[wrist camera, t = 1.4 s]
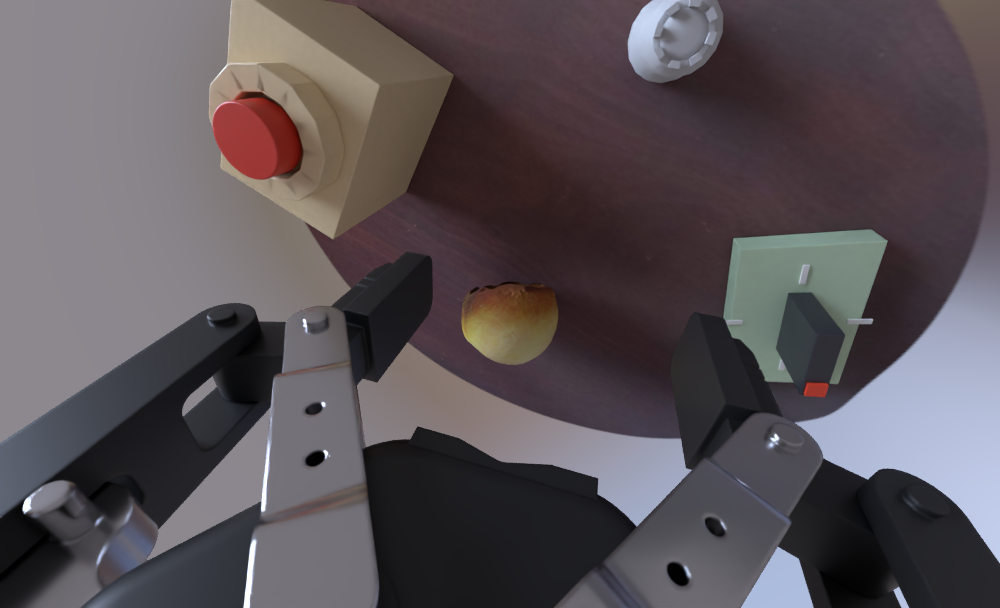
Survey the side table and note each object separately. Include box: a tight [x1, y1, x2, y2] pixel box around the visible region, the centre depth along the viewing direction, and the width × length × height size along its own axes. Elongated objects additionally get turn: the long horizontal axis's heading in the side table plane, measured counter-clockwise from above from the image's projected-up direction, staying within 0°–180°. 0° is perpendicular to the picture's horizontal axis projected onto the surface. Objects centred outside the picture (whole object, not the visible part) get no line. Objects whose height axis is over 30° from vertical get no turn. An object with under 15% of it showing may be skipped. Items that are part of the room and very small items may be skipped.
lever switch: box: [723, 229, 888, 384], centre depth 29 cm, size 12×9×2 cm
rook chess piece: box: [628, 0, 723, 83], centre depth 20 cm, size 4×4×8 cm
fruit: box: [461, 282, 558, 365], centre depth 32 cm, size 8×8×8 cm
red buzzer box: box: [209, 0, 454, 239], centre depth 24 cm, size 10×8×12 cm
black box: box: [776, 292, 845, 397], centre depth 26 cm, size 5×1×5 cm, turn 11°
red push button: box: [212, 98, 302, 180], centre depth 19 cm, size 4×4×2 cm
